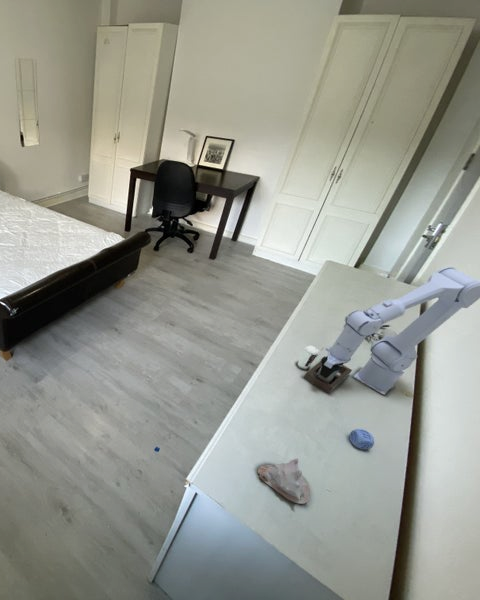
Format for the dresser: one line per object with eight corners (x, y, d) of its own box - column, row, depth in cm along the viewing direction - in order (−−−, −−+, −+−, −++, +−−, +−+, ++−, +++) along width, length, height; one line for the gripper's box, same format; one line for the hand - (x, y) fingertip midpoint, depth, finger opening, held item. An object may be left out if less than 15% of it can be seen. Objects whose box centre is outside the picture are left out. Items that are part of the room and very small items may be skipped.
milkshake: (313, 372, 118) (326, 352, 112) (297, 369, 118) (310, 349, 113) (309, 363, 121) (321, 343, 116) (293, 360, 122) (305, 341, 116)
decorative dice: (353, 447, 94) (360, 439, 91) (347, 435, 97) (354, 427, 95) (368, 451, 93) (376, 443, 91) (362, 438, 96) (370, 430, 94)
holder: (348, 375, 117) (352, 370, 115) (328, 393, 110) (332, 388, 108) (323, 361, 123) (327, 355, 121) (303, 377, 115) (306, 372, 114)
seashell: (311, 515, 78) (330, 497, 73) (258, 493, 82) (272, 475, 77) (305, 476, 86) (322, 457, 81) (257, 458, 90) (269, 439, 84)
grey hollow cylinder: (328, 387, 112) (344, 367, 106) (313, 382, 114) (327, 361, 108) (328, 379, 115) (343, 358, 109) (314, 373, 117) (327, 353, 111)
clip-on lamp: (359, 326, 146) (357, 337, 133) (365, 313, 144) (363, 323, 131) (393, 336, 139) (394, 349, 126) (400, 323, 137) (402, 335, 124)
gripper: (342, 329, 110) (324, 358, 118) (323, 345, 104) (304, 374, 111) (366, 341, 106) (345, 370, 114) (347, 358, 99) (326, 387, 107)
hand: (326, 373), depth 112 cm, fingers closed on grey hollow cylinder, 4 cm apart
